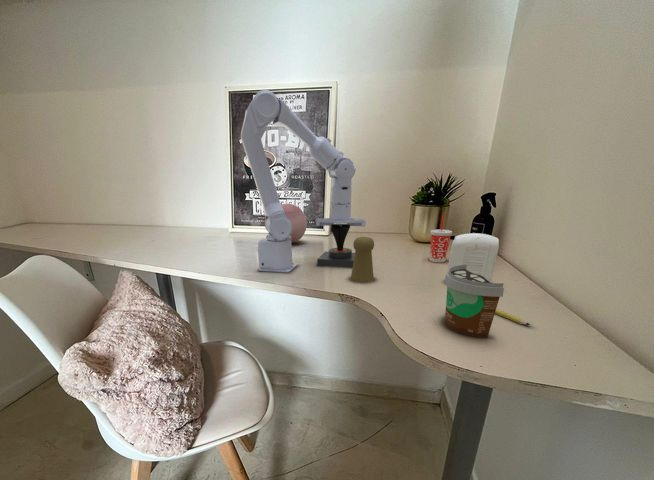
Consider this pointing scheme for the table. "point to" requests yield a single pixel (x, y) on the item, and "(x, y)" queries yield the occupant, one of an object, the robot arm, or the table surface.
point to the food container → (470, 302)
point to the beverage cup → (439, 244)
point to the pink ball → (295, 221)
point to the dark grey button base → (336, 258)
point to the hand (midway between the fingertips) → (340, 250)
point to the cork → (363, 260)
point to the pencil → (511, 317)
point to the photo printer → (475, 253)
